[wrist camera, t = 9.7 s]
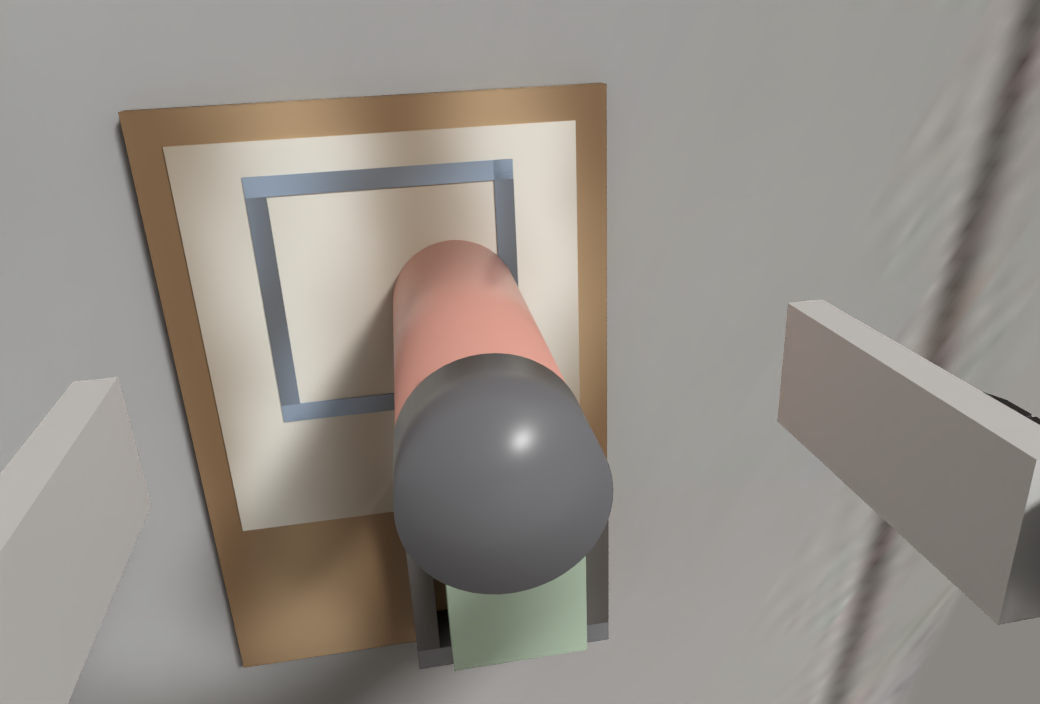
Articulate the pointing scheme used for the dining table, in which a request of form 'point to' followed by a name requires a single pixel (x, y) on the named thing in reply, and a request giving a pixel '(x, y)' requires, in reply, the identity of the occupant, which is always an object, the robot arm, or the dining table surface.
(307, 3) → the dining table surface
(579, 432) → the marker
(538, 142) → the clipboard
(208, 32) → the dining table surface
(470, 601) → the button
